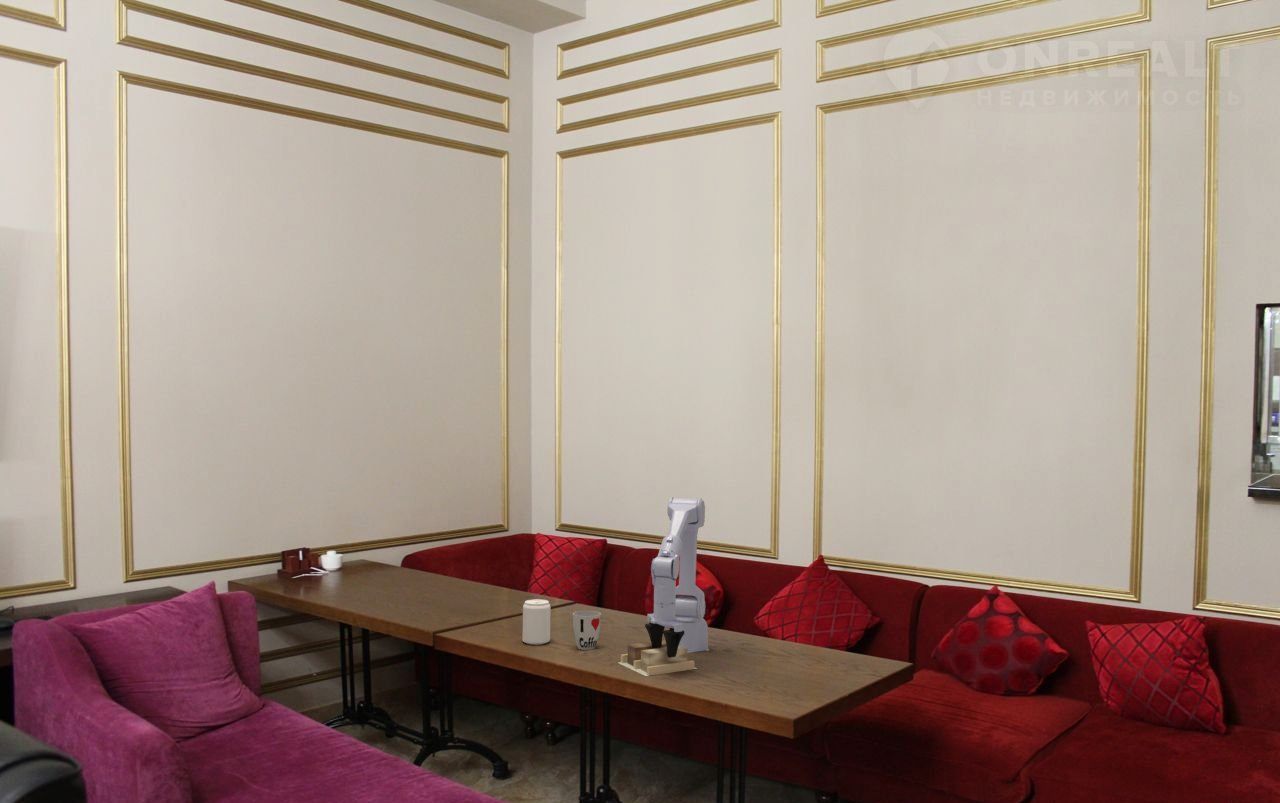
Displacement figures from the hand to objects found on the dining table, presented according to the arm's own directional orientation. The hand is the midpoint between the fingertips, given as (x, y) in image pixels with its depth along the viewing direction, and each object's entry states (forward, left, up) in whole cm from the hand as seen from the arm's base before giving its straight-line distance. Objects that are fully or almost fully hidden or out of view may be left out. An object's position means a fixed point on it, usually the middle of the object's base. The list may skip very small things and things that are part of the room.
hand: (664, 653), depth 259 cm
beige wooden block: (0, 0, -4) cm, 4 cm away
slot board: (0, -3, -5) cm, 6 cm away
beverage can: (+17, -44, -5) cm, 48 cm away
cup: (+7, -31, -5) cm, 33 cm away
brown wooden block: (0, -7, -4) cm, 8 cm away
